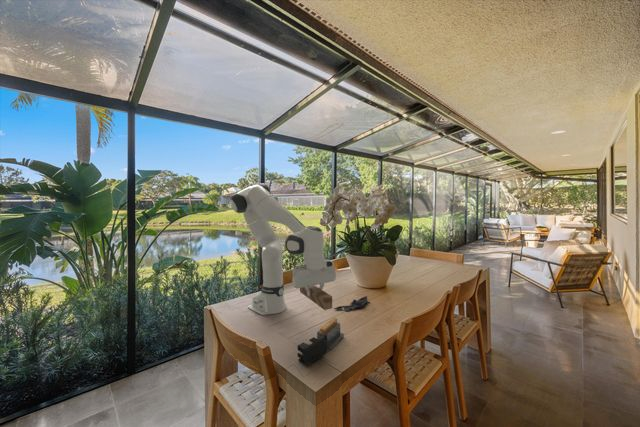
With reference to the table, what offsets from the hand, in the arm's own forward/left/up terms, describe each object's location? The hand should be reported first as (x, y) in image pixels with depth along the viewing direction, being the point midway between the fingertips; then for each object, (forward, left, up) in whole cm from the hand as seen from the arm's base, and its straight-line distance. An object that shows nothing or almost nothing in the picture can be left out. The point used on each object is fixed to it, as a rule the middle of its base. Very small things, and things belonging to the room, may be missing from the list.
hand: (314, 294), depth 114 cm
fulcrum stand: (+6, +2, -21) cm, 22 cm away
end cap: (+7, -12, -21) cm, 25 cm away
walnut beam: (0, 0, -2) cm, 2 cm away
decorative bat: (+1, +44, -21) cm, 49 cm away
